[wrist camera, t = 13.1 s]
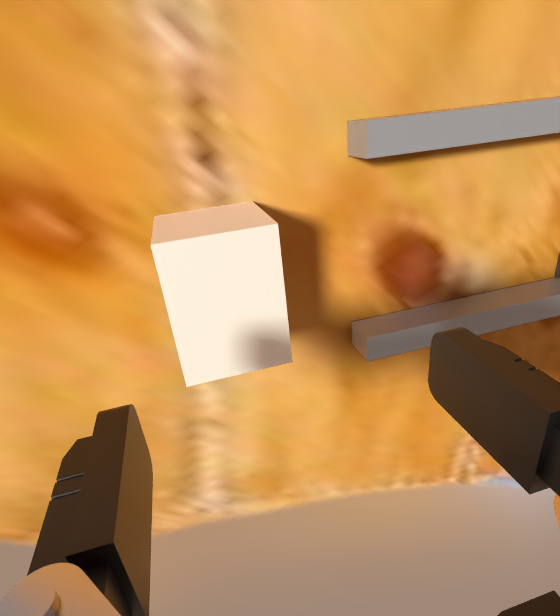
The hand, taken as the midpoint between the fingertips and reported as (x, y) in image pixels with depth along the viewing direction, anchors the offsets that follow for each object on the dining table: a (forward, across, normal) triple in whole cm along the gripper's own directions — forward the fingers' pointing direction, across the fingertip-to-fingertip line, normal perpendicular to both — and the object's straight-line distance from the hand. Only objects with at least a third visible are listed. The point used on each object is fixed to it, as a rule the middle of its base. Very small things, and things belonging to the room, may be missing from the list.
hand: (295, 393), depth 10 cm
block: (+11, +1, 0) cm, 11 cm away
